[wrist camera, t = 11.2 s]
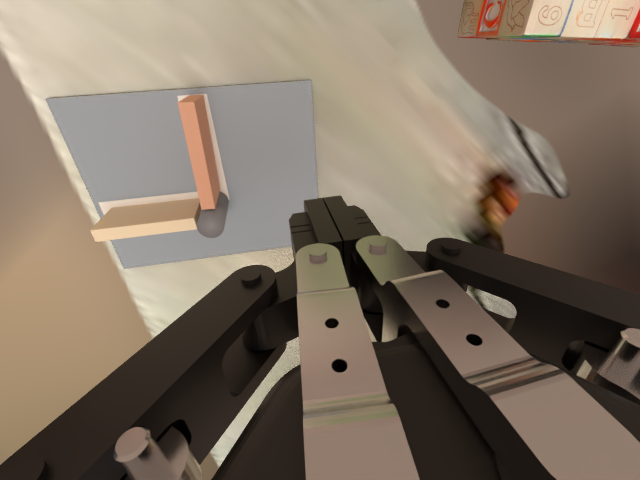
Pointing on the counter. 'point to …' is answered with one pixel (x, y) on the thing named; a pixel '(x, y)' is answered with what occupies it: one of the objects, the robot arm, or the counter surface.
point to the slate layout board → (177, 174)
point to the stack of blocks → (553, 21)
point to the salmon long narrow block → (200, 149)
